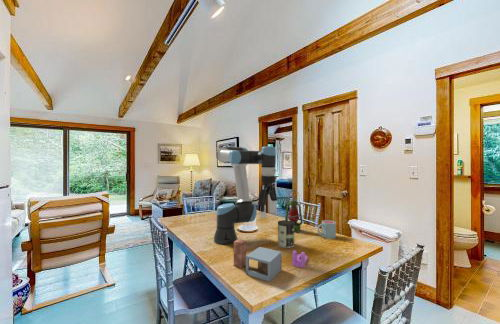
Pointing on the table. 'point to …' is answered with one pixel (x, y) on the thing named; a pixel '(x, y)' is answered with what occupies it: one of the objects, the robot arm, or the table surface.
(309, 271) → the table surface
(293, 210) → the lantern
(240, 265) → the reddish brown block
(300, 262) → the bracket
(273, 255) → the box
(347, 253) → the table surface
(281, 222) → the coffee can
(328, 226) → the mug
